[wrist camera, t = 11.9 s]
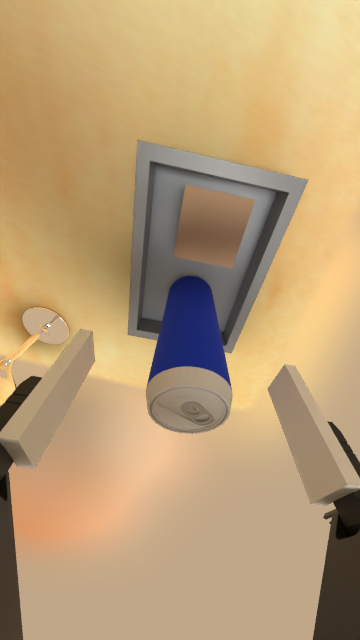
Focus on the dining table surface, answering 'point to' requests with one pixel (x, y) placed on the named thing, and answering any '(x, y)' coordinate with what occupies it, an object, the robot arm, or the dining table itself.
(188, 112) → the dining table surface
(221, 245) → the walnut block
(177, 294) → the beverage can
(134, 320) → the tray
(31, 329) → the wineglass
